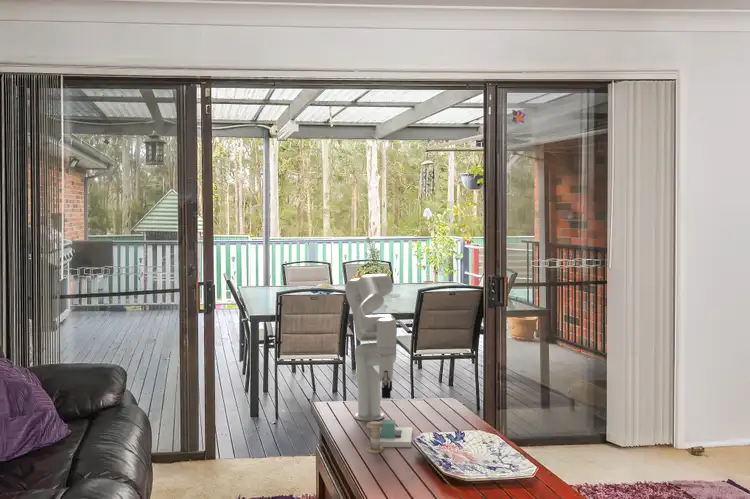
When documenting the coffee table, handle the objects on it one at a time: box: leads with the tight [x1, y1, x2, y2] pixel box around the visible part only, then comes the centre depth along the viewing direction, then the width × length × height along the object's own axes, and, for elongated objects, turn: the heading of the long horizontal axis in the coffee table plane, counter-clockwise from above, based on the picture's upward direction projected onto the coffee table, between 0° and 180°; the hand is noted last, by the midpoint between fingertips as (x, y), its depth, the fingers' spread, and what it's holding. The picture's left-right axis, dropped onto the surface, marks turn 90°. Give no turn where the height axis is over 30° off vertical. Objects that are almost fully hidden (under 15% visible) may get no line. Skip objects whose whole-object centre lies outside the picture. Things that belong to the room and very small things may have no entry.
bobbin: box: [366, 420, 384, 454], centre depth 279 cm, size 6×6×10 cm
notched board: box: [380, 426, 414, 448], centre depth 292 cm, size 18×14×2 cm
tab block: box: [380, 419, 396, 438], centre depth 292 cm, size 5×5×7 cm
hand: (387, 394), depth 291 cm, fingers open, 9 cm apart
